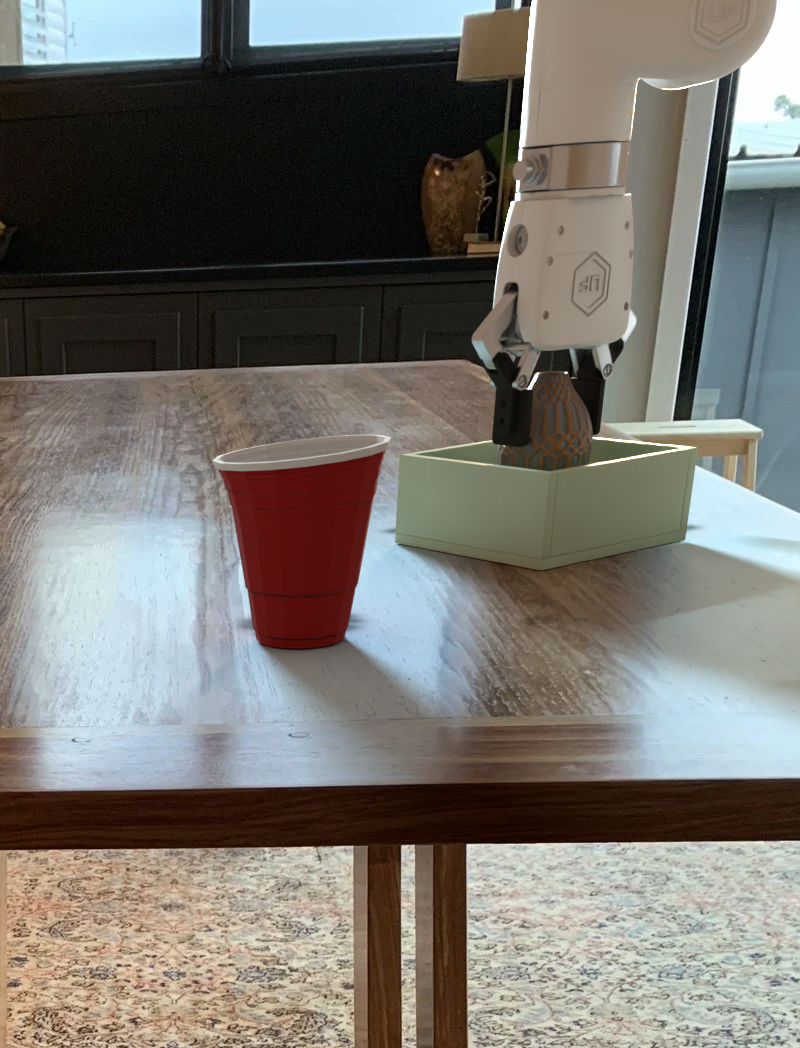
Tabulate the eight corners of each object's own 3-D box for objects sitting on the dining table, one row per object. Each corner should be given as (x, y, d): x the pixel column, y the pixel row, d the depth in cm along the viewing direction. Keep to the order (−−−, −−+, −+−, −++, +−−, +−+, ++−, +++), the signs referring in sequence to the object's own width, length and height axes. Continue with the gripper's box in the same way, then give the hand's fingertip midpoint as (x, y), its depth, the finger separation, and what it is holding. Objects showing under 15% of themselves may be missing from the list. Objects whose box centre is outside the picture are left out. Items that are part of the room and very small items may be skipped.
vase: (552, 483, 123) (564, 366, 119) (605, 495, 117) (619, 371, 113) (477, 492, 121) (486, 373, 117) (527, 504, 115) (539, 379, 111)
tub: (533, 516, 130) (541, 431, 127) (685, 540, 118) (698, 447, 115) (394, 543, 124) (399, 454, 120) (540, 571, 111) (549, 473, 108)
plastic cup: (247, 614, 105) (248, 429, 99) (402, 622, 100) (413, 429, 95) (187, 653, 97) (184, 454, 91) (353, 665, 92) (361, 455, 86)
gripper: (522, 177, 102) (499, 457, 111) (697, 167, 110) (663, 430, 118) (443, 183, 108) (426, 448, 116) (614, 173, 115) (587, 423, 124)
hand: (545, 437), depth 117 cm, fingers closed on vase, 6 cm apart
